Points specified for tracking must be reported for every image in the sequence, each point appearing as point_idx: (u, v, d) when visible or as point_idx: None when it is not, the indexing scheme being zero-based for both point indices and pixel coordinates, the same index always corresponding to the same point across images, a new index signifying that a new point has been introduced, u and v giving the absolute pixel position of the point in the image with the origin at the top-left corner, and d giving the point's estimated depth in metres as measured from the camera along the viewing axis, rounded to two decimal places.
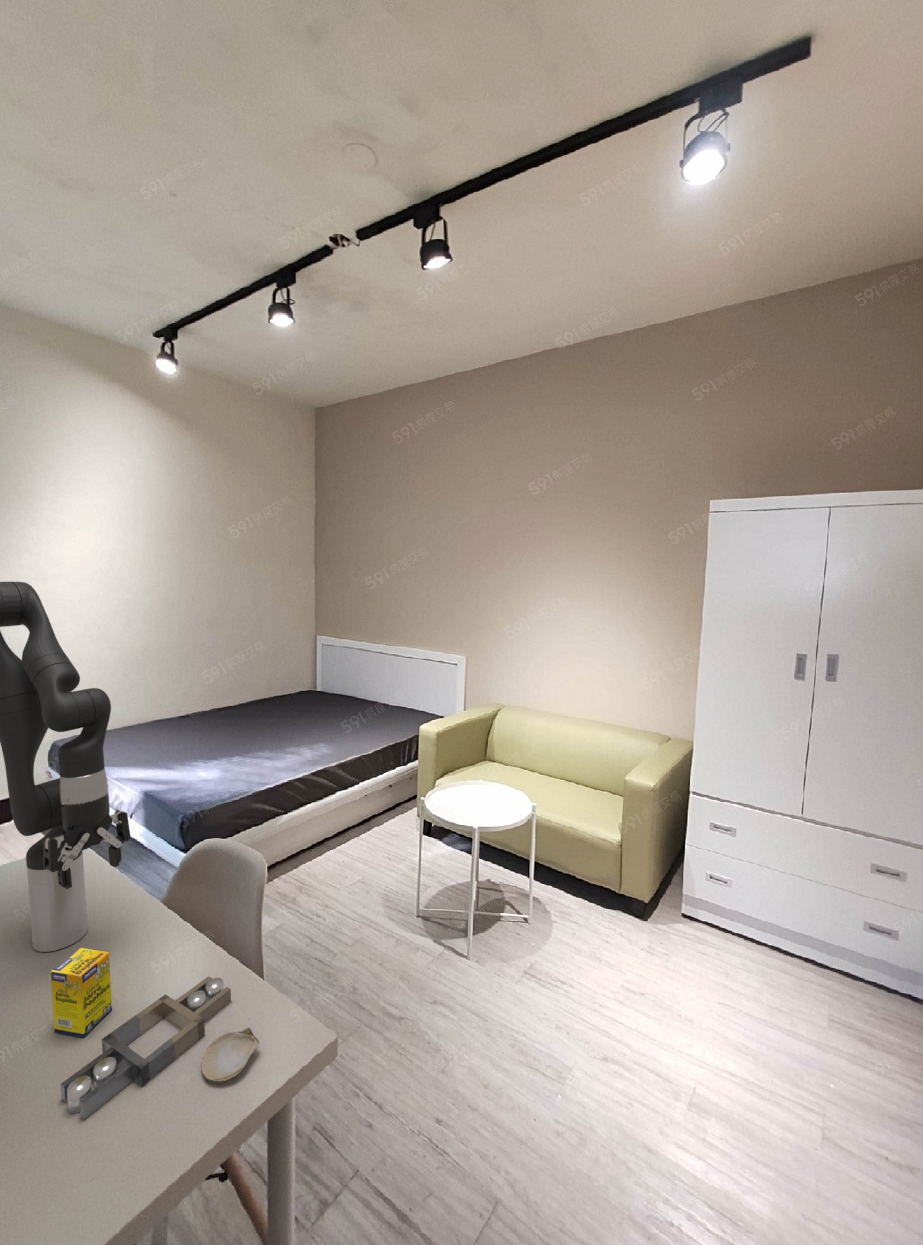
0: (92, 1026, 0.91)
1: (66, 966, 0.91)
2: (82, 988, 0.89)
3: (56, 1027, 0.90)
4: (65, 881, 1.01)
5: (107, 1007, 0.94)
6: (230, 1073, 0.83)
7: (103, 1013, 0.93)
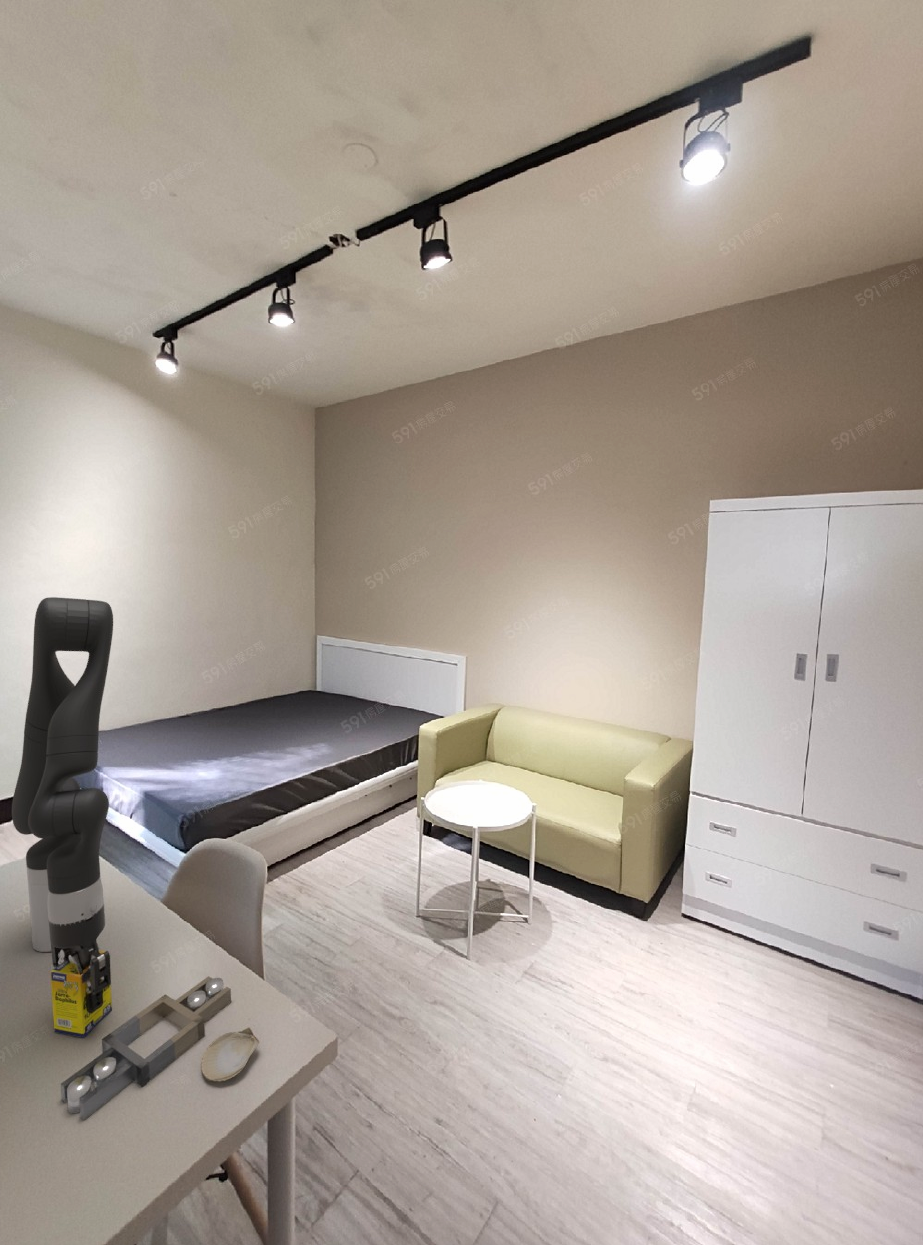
0: (92, 1026, 0.91)
1: (66, 966, 0.91)
2: (82, 988, 0.89)
3: (56, 1027, 0.90)
4: None
5: (107, 1007, 0.94)
6: (230, 1073, 0.83)
7: (103, 1013, 0.93)
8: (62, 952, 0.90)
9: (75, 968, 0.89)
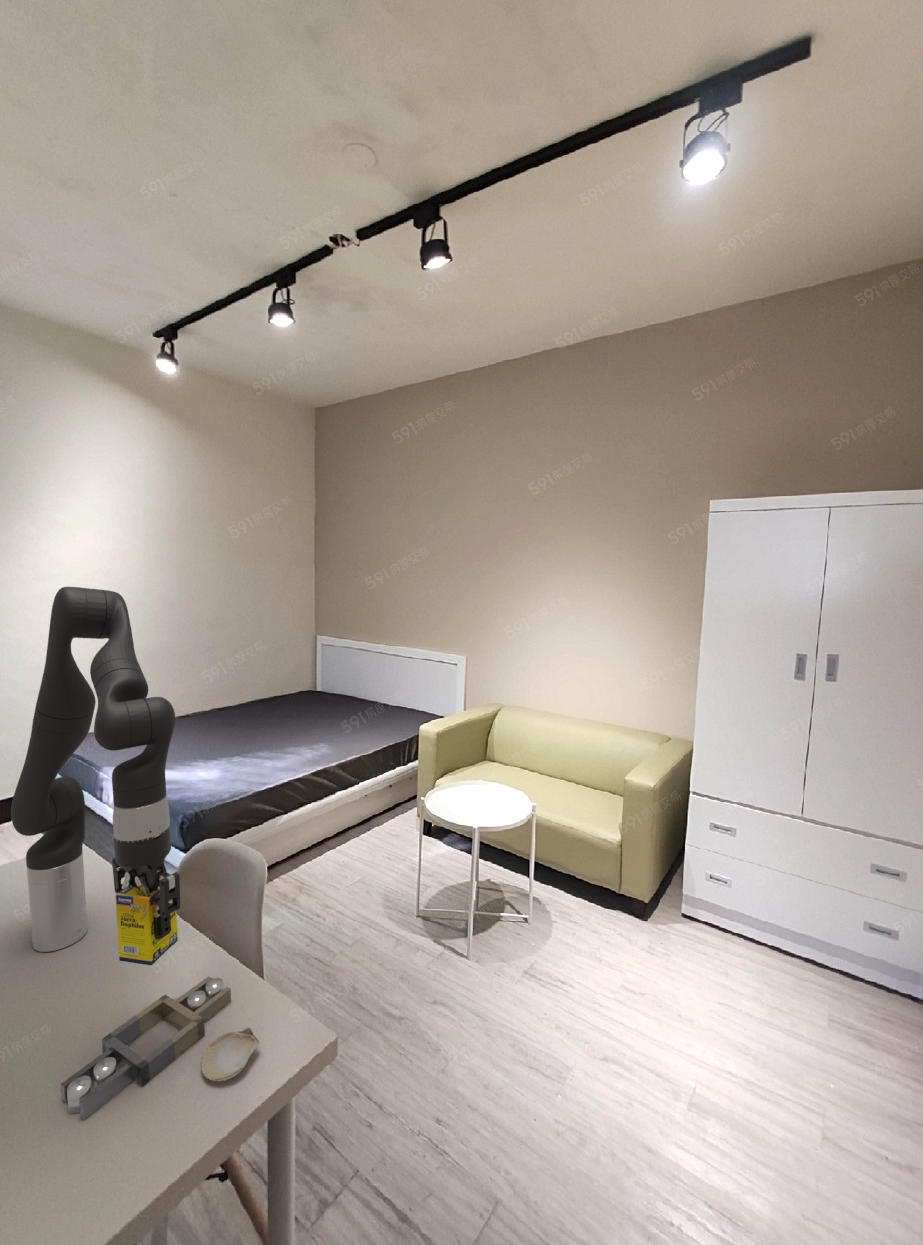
0: (159, 954, 0.85)
1: (131, 889, 0.84)
2: (150, 912, 0.83)
3: (121, 955, 0.84)
4: None
5: (173, 937, 0.88)
6: (230, 1073, 0.83)
7: (170, 942, 0.87)
8: (127, 874, 0.84)
9: (142, 890, 0.83)
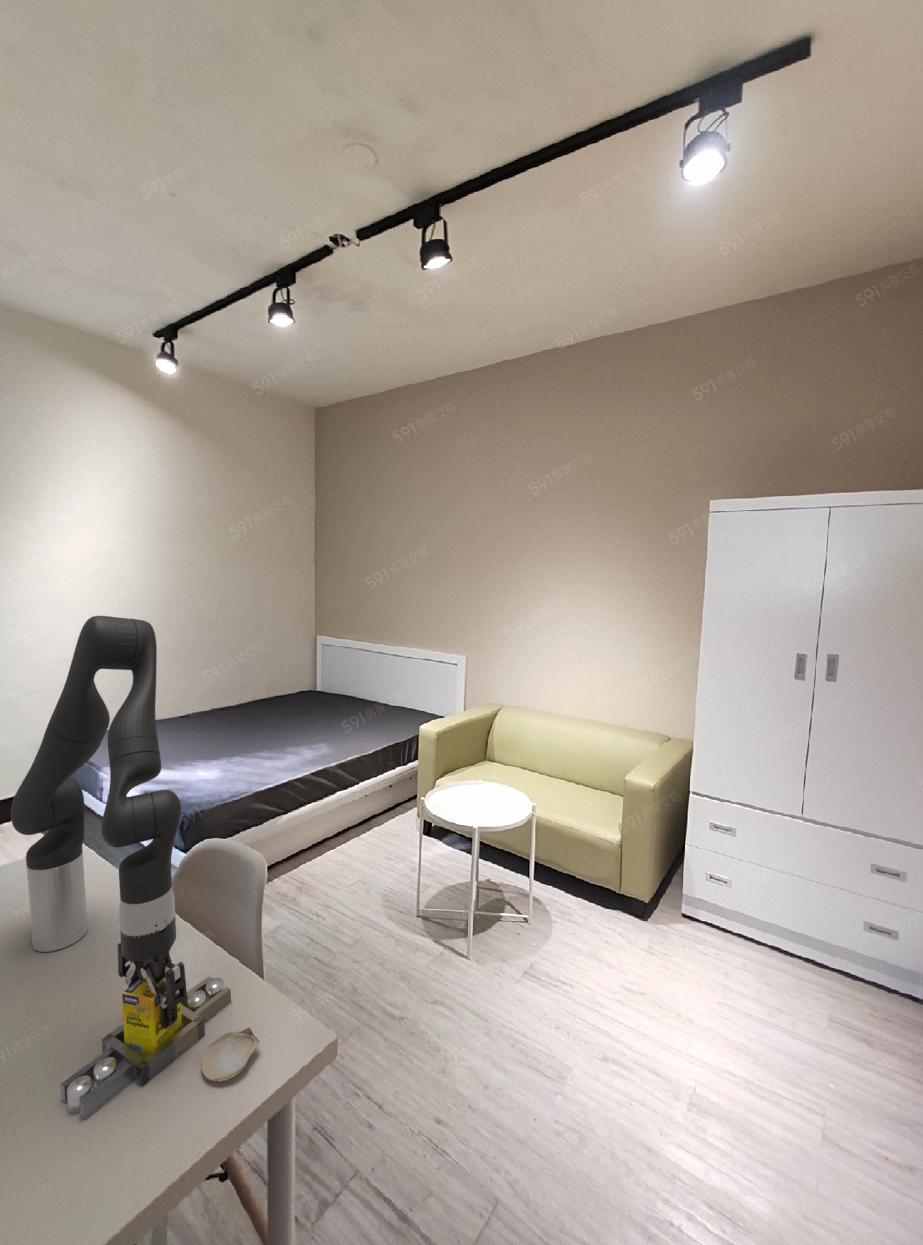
0: None
1: (137, 988, 0.86)
2: (155, 1012, 0.84)
3: None
4: None
5: (178, 1031, 0.89)
6: (230, 1073, 0.83)
7: None
8: (133, 965, 0.86)
9: (148, 982, 0.84)
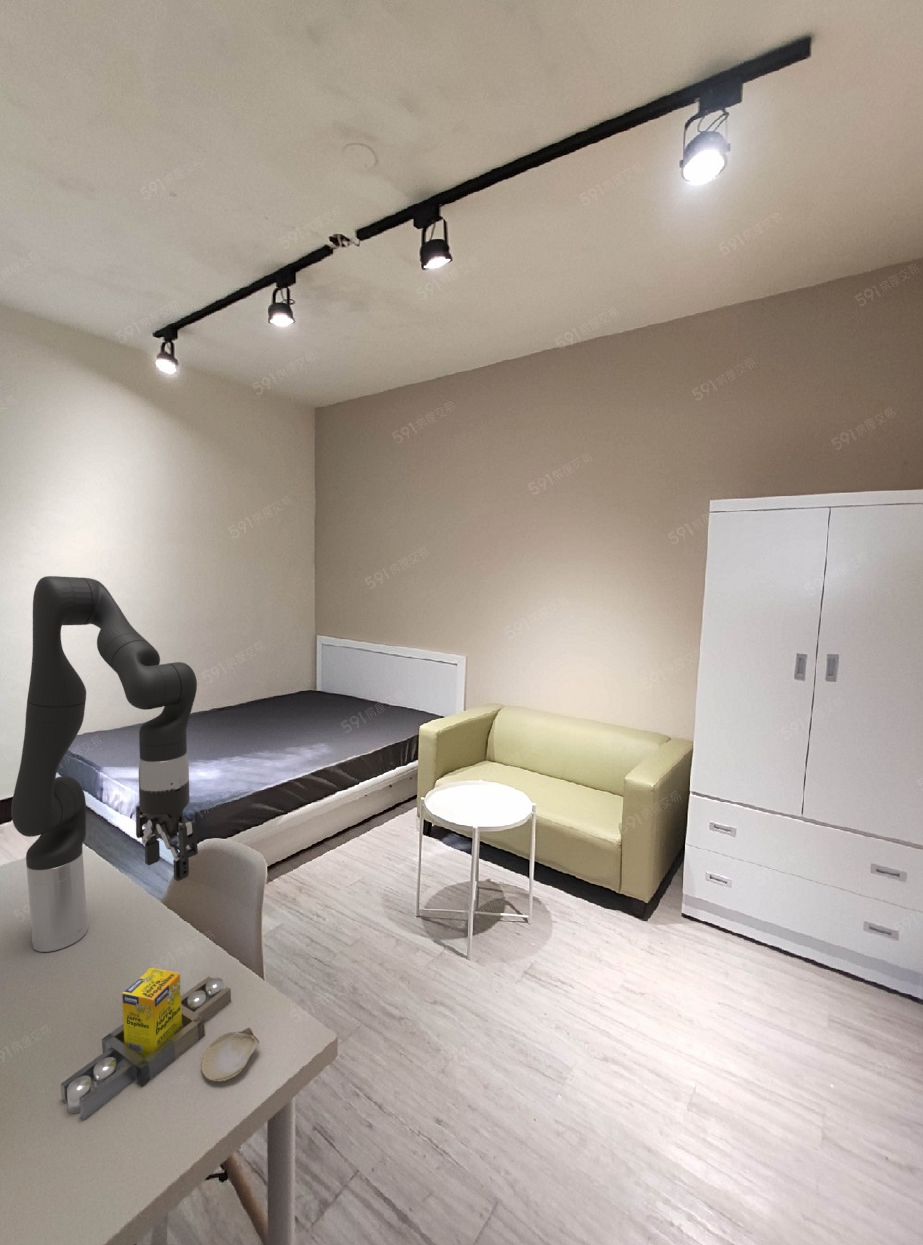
0: None
1: (137, 988, 0.86)
2: (155, 1012, 0.84)
3: None
4: None
5: (178, 1031, 0.89)
6: (230, 1073, 0.83)
7: None
8: (150, 822, 0.93)
9: (163, 836, 0.92)
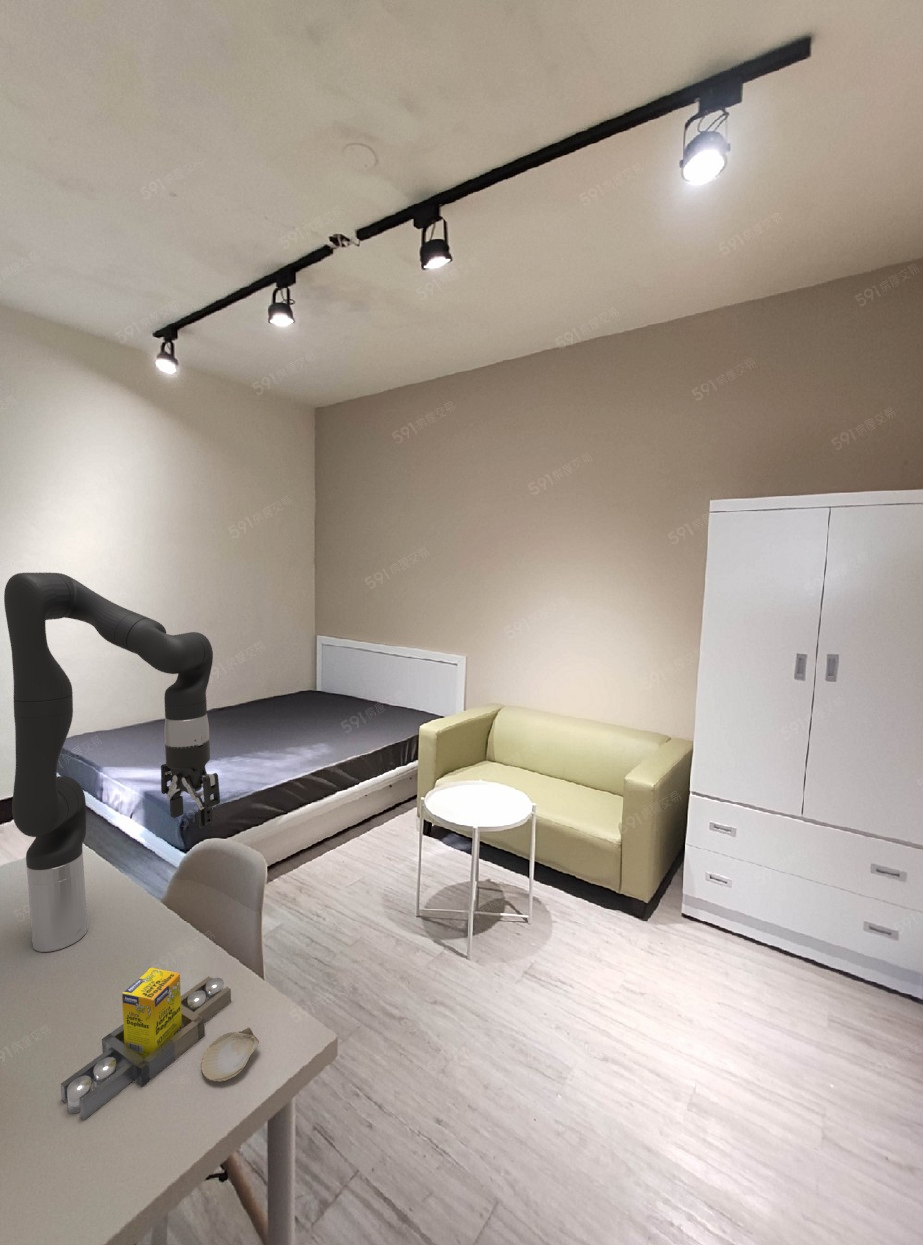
0: None
1: (137, 988, 0.86)
2: (155, 1012, 0.84)
3: None
4: None
5: (178, 1031, 0.89)
6: (230, 1073, 0.83)
7: None
8: (175, 777, 1.03)
9: (188, 789, 1.02)
